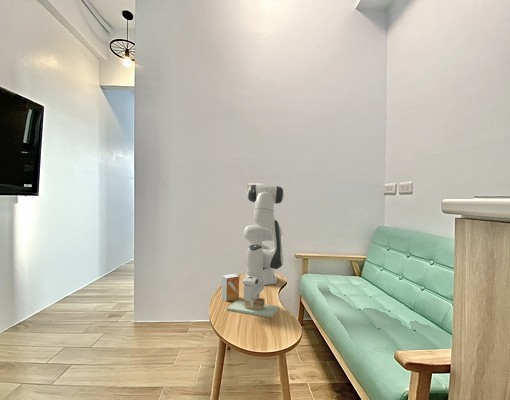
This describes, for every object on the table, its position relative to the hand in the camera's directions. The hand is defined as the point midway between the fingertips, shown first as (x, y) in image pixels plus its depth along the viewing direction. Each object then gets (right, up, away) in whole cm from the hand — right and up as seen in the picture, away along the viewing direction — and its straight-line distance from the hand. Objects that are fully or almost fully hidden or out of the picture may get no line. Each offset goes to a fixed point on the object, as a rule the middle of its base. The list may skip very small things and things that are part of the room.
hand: (254, 303), depth 151 cm
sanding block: (0, -2, 0) cm, 2 cm away
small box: (-14, -3, +16) cm, 21 cm away
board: (-1, -3, 0) cm, 3 cm away
